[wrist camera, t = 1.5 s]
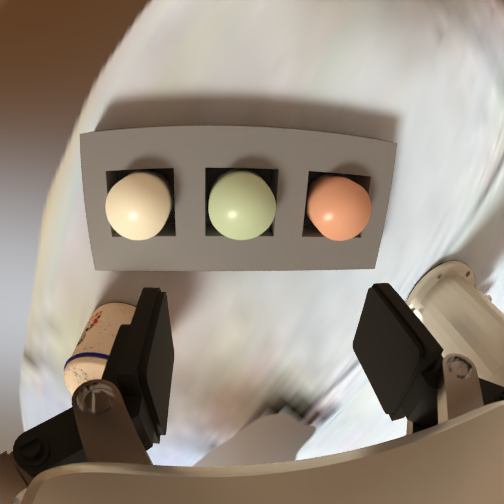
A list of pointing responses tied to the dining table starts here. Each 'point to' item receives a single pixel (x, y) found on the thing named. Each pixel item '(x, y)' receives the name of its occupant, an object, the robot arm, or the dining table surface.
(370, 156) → the button panel
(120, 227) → the cream button
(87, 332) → the teacup with lid
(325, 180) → the terracotta button
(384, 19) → the dining table surface
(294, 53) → the dining table surface
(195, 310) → the dining table surface
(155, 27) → the dining table surface
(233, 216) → the sage button
